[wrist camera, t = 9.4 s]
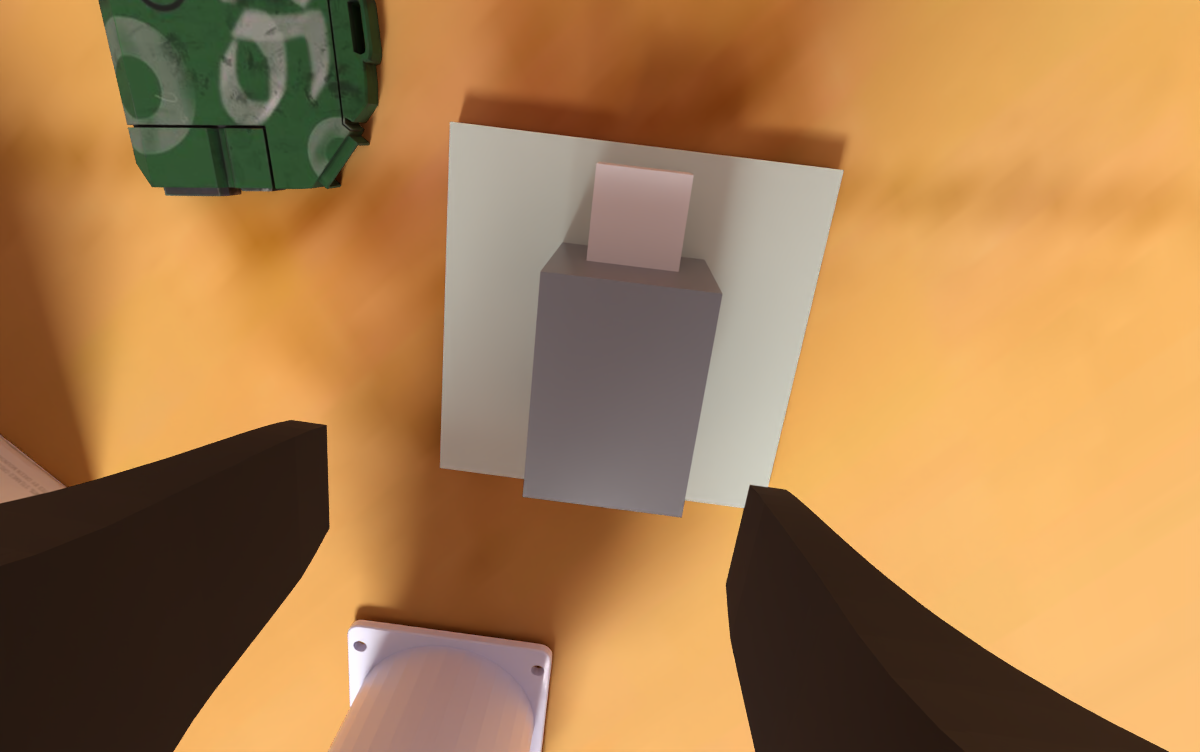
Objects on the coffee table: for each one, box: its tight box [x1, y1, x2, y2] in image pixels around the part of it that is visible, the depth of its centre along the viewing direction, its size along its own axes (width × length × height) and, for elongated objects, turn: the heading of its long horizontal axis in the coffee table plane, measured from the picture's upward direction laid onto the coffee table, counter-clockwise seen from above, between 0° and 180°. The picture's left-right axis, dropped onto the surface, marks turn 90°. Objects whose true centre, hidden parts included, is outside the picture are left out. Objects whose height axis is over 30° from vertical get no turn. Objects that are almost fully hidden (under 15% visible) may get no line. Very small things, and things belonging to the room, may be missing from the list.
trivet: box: [440, 122, 844, 508], centre depth 20 cm, size 11×11×1 cm
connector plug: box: [523, 162, 723, 517], centre depth 17 cm, size 8×4×4 cm, turn 173°
